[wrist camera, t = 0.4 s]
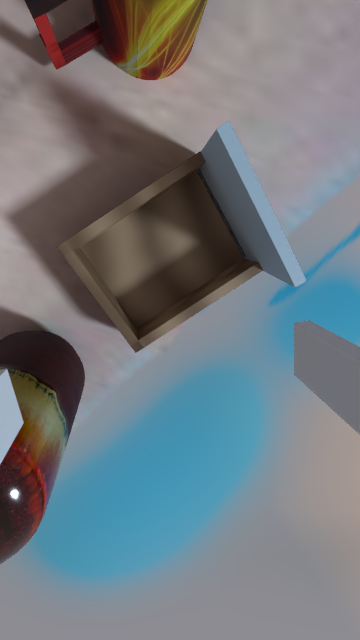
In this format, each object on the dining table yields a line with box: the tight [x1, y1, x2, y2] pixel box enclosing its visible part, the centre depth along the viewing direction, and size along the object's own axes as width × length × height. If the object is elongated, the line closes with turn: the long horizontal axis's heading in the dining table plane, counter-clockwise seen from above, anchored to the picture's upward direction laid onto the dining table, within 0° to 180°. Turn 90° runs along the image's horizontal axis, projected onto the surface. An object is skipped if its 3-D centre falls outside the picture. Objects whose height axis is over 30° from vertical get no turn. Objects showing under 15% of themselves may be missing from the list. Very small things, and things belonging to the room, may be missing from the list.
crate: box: [57, 152, 263, 352], centre depth 33 cm, size 16×13×6 cm
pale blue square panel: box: [199, 120, 306, 288], centre depth 29 cm, size 13×13×1 cm
